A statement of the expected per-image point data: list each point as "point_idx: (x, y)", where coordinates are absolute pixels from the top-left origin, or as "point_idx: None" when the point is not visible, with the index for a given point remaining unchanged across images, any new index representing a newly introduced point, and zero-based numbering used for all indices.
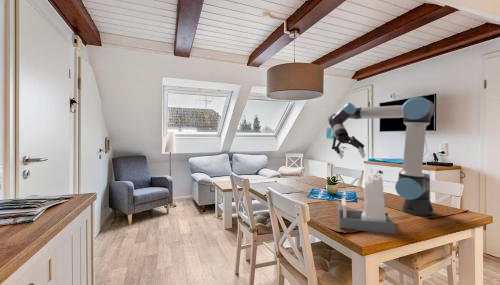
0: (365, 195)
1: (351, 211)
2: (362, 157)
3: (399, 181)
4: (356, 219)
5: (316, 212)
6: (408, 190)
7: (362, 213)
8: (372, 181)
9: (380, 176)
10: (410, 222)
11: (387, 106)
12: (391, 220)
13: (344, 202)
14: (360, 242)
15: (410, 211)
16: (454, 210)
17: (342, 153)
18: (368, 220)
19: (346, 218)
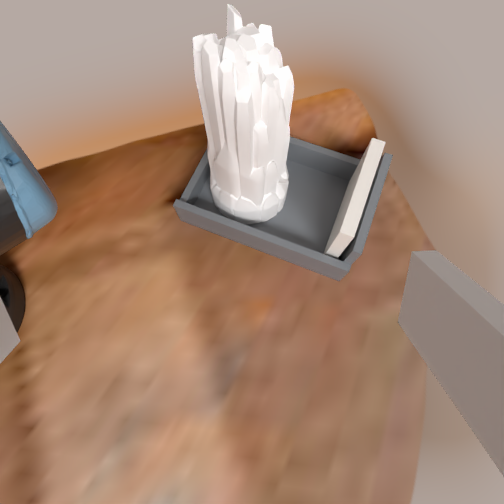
0: (288, 120)
1: (299, 246)
2: (12, 341)
3: (11, 164)
4: (326, 153)
5: (415, 361)
6: (26, 158)
7: (284, 187)
8: (272, 35)
9: (203, 35)
10: (107, 210)
11: None
12: (204, 155)
13: (364, 173)
14: (347, 102)
15: (16, 288)
16: None
17: (443, 281)
18: (291, 142)
19: (357, 164)
